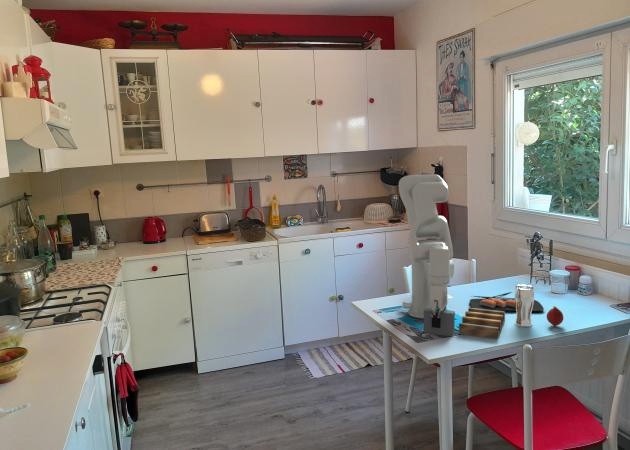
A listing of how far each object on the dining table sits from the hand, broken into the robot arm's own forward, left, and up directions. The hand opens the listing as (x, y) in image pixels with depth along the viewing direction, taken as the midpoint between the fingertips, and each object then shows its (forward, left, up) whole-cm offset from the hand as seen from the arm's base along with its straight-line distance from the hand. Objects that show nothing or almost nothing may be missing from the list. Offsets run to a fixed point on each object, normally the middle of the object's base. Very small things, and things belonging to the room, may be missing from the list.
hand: (439, 323), depth 196 cm
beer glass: (+28, +21, -4) cm, 35 cm away
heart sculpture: (-10, +49, -4) cm, 50 cm away
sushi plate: (+17, +48, -5) cm, 51 cm away
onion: (+39, +23, -4) cm, 45 cm away
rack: (+14, +12, -4) cm, 19 cm away
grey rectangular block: (0, 0, -4) cm, 4 cm away
